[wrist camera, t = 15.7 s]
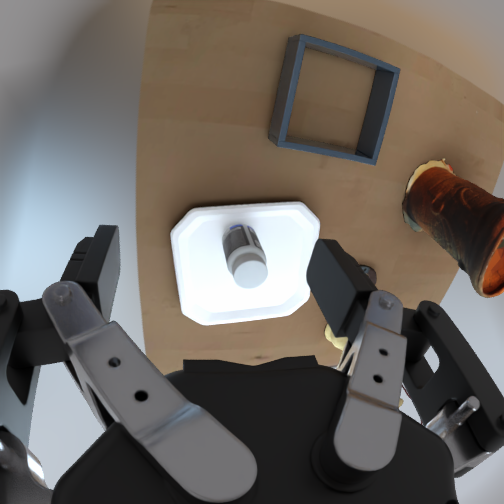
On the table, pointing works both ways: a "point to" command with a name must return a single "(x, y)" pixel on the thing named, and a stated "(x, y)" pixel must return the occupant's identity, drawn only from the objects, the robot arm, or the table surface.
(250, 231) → the pill bottle
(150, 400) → the robot arm
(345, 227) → the table surface
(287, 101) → the square frame
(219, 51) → the table surface
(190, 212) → the plate
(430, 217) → the vessel
